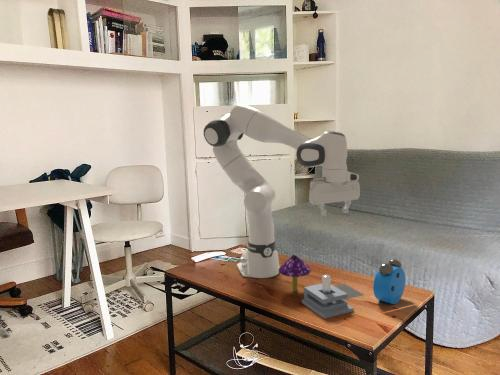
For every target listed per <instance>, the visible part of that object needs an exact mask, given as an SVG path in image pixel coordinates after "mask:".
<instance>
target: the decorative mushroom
mask: <svg viewBox="0 0 500 375" xmlns="http://www.w3.org/2000/svg"><path fill="white" fill-rule="evenodd" d="M311 271H312V269H311V267H310V266H309V265H308V264H307V263H306V262H305V261H304V260H303V259H301V258H300V257H299V256H298V255H297V254H292V255H291V256H290V257H289V258H288V259H286V261H285V262H283V263H282V264H281V265H280V268H279V274H281V275H282V276H286V277H291V278H292V281H291V282H292V284H291V286H292V292H293V293H297V292H298V291H299V290H298V277H304V276H308V275H309V274H310V273H311Z"/></svg>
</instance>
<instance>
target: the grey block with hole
mask: <svg viewBox="0 0 500 375" xmlns="http://www.w3.org/2000/svg"><path fill="white" fill-rule="evenodd" d="M335 286H336V285H333V284H331V294H328V295H324V294H323V293H322V282H321V283H318V284H312V285H308V286H304V287H303V298H302V299H301V303H302V304H303V305H305V306H306V307H307V308H309V309H310V310H311V311H312V312H314V313H315V314H317V315H318V316H319V317H320V318H322V319H325V320H326V319H328V318H331V317H336V316H341V315H345V314H348V313H351V312H354V310H355V309H354V307H353V306H352V305H350V304H348V301H347V299H346V298H348V294H347V293H345V292H344V291H342V290H340V289H338V288H337V287H335ZM343 299H345V300H343Z"/></svg>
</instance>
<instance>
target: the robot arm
mask: <svg viewBox="0 0 500 375" xmlns="http://www.w3.org/2000/svg"><path fill="white" fill-rule="evenodd" d="M244 135H245V136H246V137H248V138H250V139H252V140H255V141H258V142H260V143H267V144H268V143H269V144H270V143H271V144H273V143H274V144H283V145H285V146H287V147H290V148H292V149H295V150H296V160H297V162H298V163H299V165H301V166H303V167H307V168H314V167H320V166H321V167H322V168H321V170H322V171H321V172H322V177H316V178H315V177H314V178H313V179H311V181H309V182H310V183H309V193H308V194H309V195H308V201H309V203H310V204H312V205H315V206H316V205H317V207H318V209H319V211H320V215H321V216H322V217H324V216H325V217H326V216H328V210H326V209H325V208H324V207H325V204H330V203H340V202H341V203H342V202H344V206H343V207H342V208H341V211H342V213H344V214H346V213H347V214H348V213H349V208H350V206H351V204H352V201H354V200H355V201H357V200H359V198H360V197H361V196H360V195H361V187H360V182H359V179H360V175H359V174H357V173H353V172H351V171H348V165H347V158H348V143H347V137H346V135H345V134H343V133H342V132H339V131H332V130H331V131H330V130H326V131H324V132H323V133H322V134H320V135H318V136H317V137H315V138H311V137H308V136H306V135H304V134H302V133H300V132H297V131H295V130H293V129H291V128H289V127H288V126H286V125H284V124H283V123H281V122H280V121H278V120H276V119H275V118H273V117H272V116H270V115H269V114H268V113H265V112H263V111H261V110H259V109H257V108H254V107H252V106H249V105H245V104H242V103H240V104H236V105H235V106H234V107H233V108H231V110H230V112H228V113H225V114H222V115H220V116H219V117H217V118H215V119H214V120H211V121H209V122H208V123H207V124H206V125H205V126H204V128H203V137H204V140H205V141H206V142H207V145H210V146H212V152H213V155H214V157H215V159H216V160H217V162H218V164H219V165H220V167H221V169H222V170H223V171H224V172H225V174H226V176H228V178H229V179H230V181H231V182H232V184H234V185H235V186H237V188H239V189H240V190H241V191H242V192H243V194H245V196H244V199H243V205H244V208H245V213H246V214H245V215H246V219H247V225H248V240H247V245H246V246H247V249H246V250H245V251H243V253H241V257H240V258H239V263H238V262H237V264H236V268H237V270H239V272H240V274H241V276H242V277H245V278H247V277H248V278H254V279H268V278H272V277H276V276H277V275H279V274H280V272H279V268H280V267H281V265H280V261H279V260H280V259H279V253H278V251H277V250H276V241H275V224H274V219H273V212H272V205H273V203H274V202H275V200H276V191H275V189H274V187H273V186H272V185H271V184H270V183H269V182H268V181H267V180H266V179H265V178H264V176H262V175H261V173H259V171H257V169H256V168H255V167H254V166H253V164H252V163H251V161H250V160H249V158H247V157H246V155H245V154H244V152H243V151H242V149H241V148H240V147H239V145H238V140H242V138H243V136H244Z"/></svg>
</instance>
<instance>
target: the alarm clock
mask: <svg viewBox="0 0 500 375" xmlns="http://www.w3.org/2000/svg"><path fill="white" fill-rule="evenodd" d="M402 267H403V264H402V262H401V261H400V260H398V259H396V258H393V259H391V258H390V260H388V261H387V262H385V263H382V264H380V265H379V267H378V269H377V271H376V273H375V275H374V279H373V286H372V287H373V288H372V290H373V295H374V297H375V299H377V300H378V302H379V303H381V302H384V303H388V304H391V305H395V304H397V303H399V302H400V301H401V299H402V297H403V295H404V291H405V287H406V274H405V271H404V269H403V268H402Z"/></svg>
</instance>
